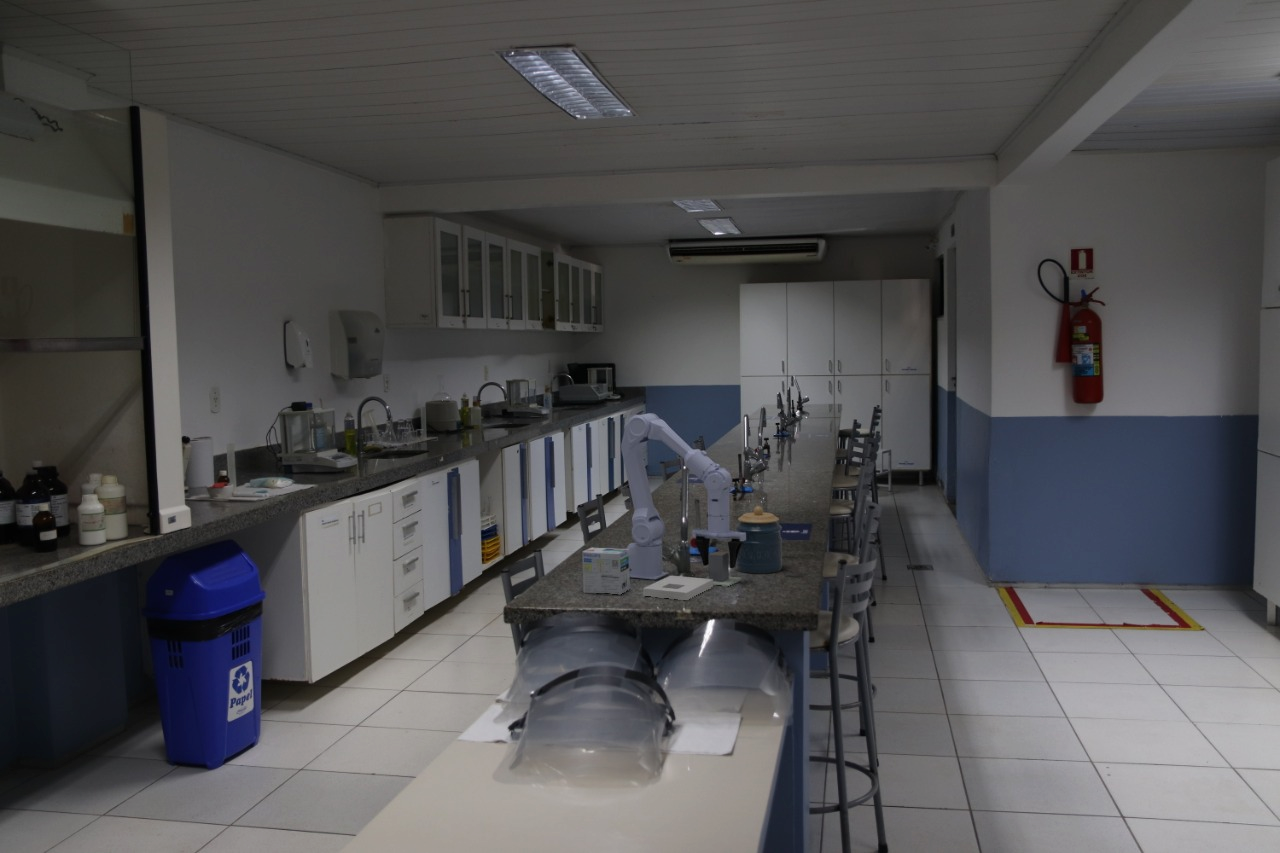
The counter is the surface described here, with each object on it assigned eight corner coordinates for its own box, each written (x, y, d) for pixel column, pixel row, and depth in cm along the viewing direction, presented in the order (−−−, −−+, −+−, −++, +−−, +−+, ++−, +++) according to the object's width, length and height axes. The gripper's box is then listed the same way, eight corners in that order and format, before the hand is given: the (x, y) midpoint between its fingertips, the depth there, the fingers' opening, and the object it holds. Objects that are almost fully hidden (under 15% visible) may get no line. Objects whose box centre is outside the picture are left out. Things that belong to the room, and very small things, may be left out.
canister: (731, 573, 276) (730, 509, 275) (740, 563, 288) (739, 502, 287) (778, 575, 272) (777, 510, 271) (785, 565, 285) (785, 503, 283)
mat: (696, 583, 264) (696, 581, 264) (710, 576, 272) (710, 574, 272) (728, 586, 260) (728, 584, 260) (741, 579, 268) (741, 577, 268)
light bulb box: (630, 589, 258) (630, 548, 258) (621, 595, 252) (620, 553, 251) (592, 587, 262) (591, 546, 261) (582, 593, 256) (581, 551, 255)
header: (643, 596, 251) (642, 588, 251) (671, 582, 265) (671, 575, 265) (686, 600, 246) (686, 592, 245) (713, 587, 260) (713, 579, 260)
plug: (708, 580, 265) (708, 554, 264) (714, 577, 268) (714, 551, 268) (722, 582, 263) (722, 555, 262) (728, 579, 266) (728, 552, 266)
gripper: (687, 515, 264) (687, 566, 265) (738, 518, 258) (739, 571, 259) (698, 511, 271) (698, 561, 272) (748, 514, 264) (749, 566, 265)
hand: (719, 566), depth 266 cm, fingers open, 7 cm apart
